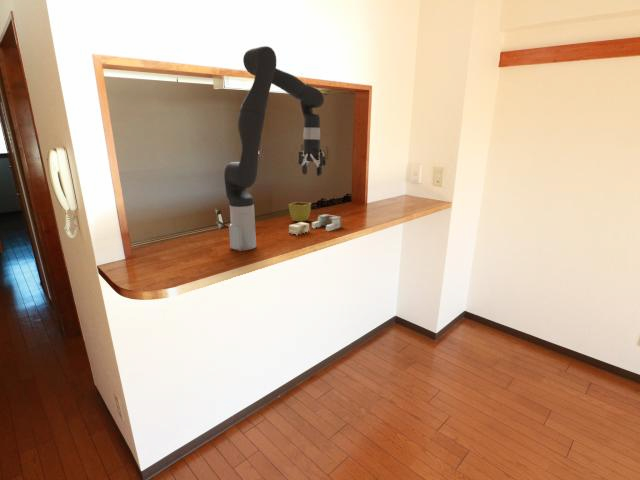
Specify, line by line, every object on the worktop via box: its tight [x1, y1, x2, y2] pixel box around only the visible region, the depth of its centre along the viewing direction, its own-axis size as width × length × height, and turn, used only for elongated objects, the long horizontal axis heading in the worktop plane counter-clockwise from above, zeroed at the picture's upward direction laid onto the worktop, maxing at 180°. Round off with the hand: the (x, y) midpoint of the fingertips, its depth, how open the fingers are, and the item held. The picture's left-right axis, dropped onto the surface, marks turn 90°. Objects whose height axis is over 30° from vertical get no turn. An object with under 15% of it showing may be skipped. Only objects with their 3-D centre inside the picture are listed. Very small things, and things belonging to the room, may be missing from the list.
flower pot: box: [288, 201, 312, 223], centre depth 187 cm, size 9×9×9 cm
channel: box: [311, 213, 343, 232], centre depth 175 cm, size 10×10×5 cm
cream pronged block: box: [288, 221, 310, 236], centre depth 166 cm, size 8×5×4 cm, turn 139°
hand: (311, 174), depth 169 cm, fingers open, 8 cm apart
